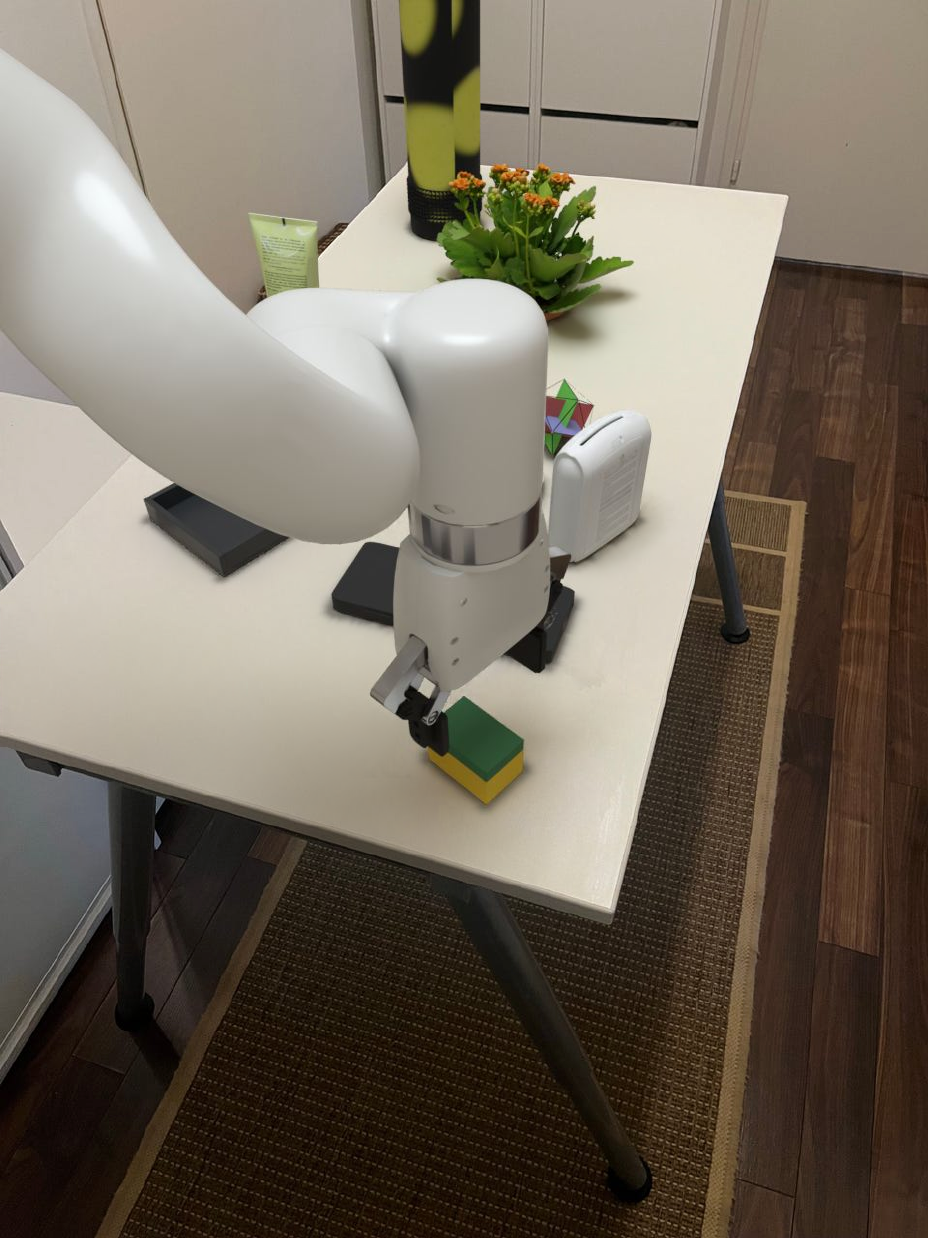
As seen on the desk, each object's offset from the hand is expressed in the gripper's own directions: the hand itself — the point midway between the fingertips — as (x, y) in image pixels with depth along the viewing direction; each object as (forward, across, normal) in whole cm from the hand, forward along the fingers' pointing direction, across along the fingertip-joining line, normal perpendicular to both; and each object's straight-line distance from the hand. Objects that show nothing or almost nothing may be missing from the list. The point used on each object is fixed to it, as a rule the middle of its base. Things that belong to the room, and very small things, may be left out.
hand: (479, 700), depth 64 cm
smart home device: (+8, -11, -13) cm, 19 cm away
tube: (+8, -25, -50) cm, 56 cm away
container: (+8, -67, -69) cm, 96 cm away
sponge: (+7, 0, 0) cm, 8 cm away
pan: (+7, -7, -37) cm, 38 cm away
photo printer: (+8, -27, -10) cm, 30 cm away
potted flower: (+8, -57, -43) cm, 72 cm away
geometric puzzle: (+8, -36, -22) cm, 43 cm away
